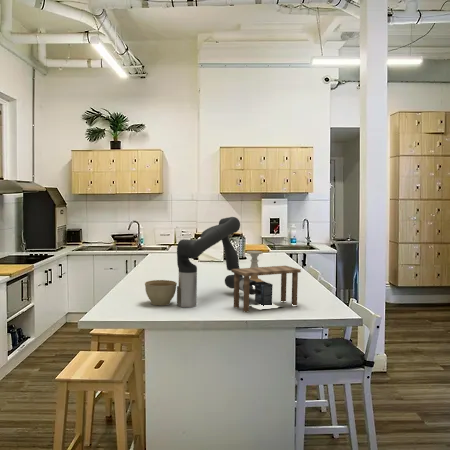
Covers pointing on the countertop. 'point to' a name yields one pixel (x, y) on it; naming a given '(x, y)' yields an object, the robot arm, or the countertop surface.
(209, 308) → the countertop surface
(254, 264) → the candle holder
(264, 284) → the box
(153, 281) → the planter bowl
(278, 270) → the low shelf
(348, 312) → the countertop surface
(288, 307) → the countertop surface
